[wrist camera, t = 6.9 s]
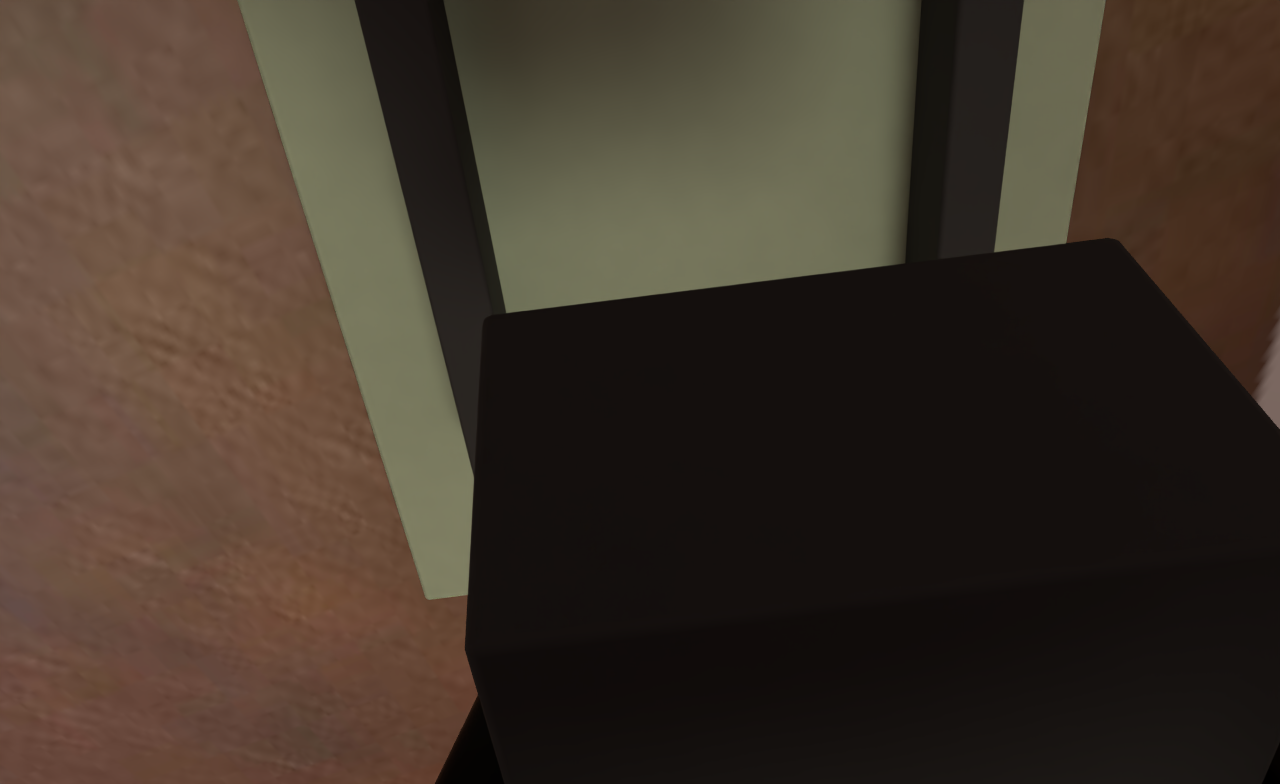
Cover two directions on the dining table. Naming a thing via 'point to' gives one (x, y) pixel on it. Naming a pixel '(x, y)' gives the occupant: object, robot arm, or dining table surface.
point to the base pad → (641, 170)
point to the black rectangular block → (876, 534)
